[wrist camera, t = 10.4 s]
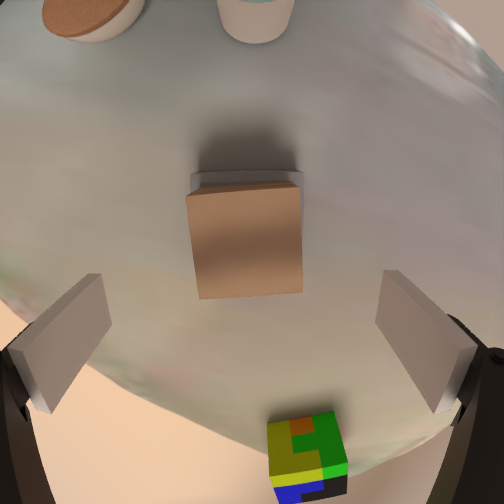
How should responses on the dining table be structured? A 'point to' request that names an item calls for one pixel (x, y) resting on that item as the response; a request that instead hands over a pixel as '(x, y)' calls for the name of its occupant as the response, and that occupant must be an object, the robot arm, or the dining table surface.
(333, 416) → the puzzle toy
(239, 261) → the walnut brick
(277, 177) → the tower base
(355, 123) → the dining table surface
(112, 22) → the lidded jar
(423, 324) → the robot arm
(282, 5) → the can
